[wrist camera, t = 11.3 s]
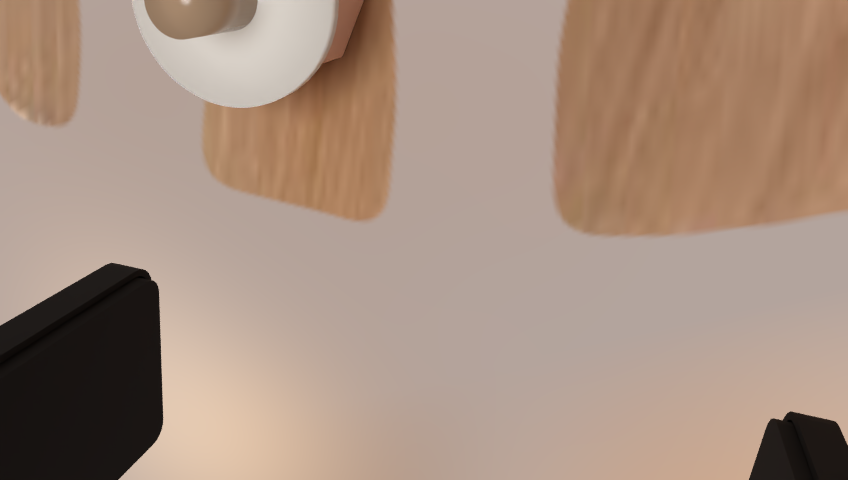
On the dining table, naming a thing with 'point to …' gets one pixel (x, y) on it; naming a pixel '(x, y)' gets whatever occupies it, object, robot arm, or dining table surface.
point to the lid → (238, 45)
